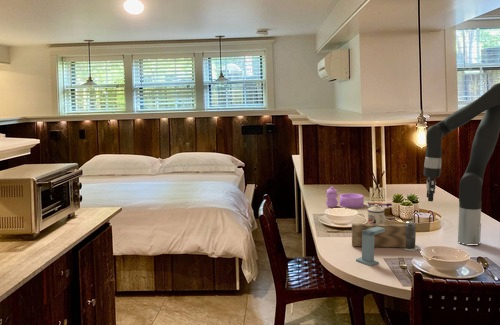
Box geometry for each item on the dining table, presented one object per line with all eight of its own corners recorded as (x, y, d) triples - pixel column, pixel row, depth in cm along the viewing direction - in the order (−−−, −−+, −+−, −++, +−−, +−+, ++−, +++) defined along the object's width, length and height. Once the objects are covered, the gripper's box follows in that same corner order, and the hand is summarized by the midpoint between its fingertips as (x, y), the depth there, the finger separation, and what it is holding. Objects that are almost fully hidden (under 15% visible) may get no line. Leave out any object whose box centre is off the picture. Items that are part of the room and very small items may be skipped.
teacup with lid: (363, 224, 245) (364, 204, 244) (376, 222, 249) (377, 202, 247) (378, 229, 234) (379, 208, 233) (391, 227, 238) (392, 206, 237)
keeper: (373, 255, 196) (373, 225, 195) (388, 259, 190) (388, 229, 188) (355, 260, 190) (356, 230, 188) (370, 266, 183) (371, 234, 182)
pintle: (417, 244, 209) (418, 219, 207) (421, 250, 200) (422, 224, 199) (397, 244, 210) (398, 219, 209) (401, 250, 202) (401, 224, 200)
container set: (357, 202, 301) (357, 182, 299) (367, 207, 286) (367, 186, 284) (322, 204, 296) (322, 185, 295) (330, 209, 281) (330, 189, 280)
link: (414, 244, 207) (414, 224, 206) (416, 248, 202) (416, 227, 201) (351, 243, 212) (351, 222, 211) (352, 246, 207) (352, 225, 206)
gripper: (442, 169, 206) (439, 203, 208) (439, 165, 219) (436, 197, 222) (425, 168, 208) (422, 201, 210) (423, 163, 221) (420, 195, 224)
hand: (429, 199), depth 216 cm, fingers open, 8 cm apart
